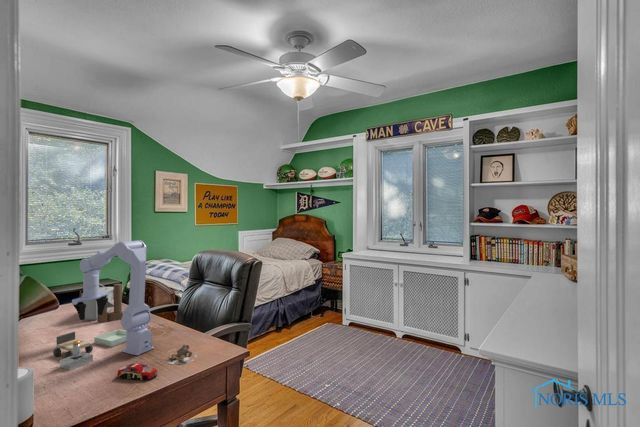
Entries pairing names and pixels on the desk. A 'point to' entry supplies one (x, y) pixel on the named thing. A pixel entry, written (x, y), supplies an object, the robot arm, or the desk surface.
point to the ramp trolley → (69, 345)
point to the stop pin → (76, 350)
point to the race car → (137, 372)
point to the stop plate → (76, 361)
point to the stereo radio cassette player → (92, 305)
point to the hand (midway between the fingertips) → (91, 317)
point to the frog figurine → (181, 356)
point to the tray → (111, 338)
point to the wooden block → (117, 306)
